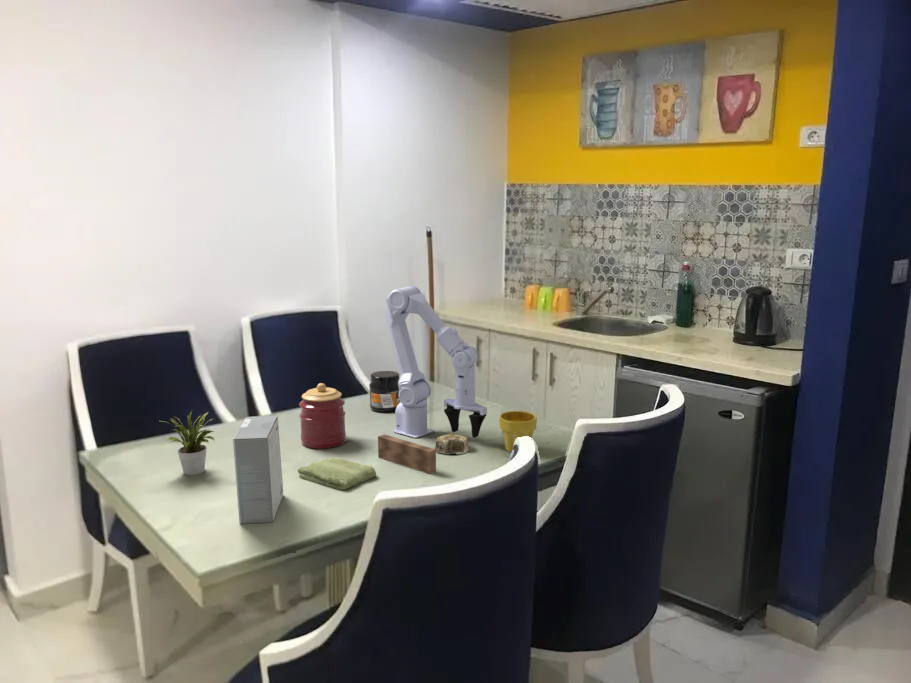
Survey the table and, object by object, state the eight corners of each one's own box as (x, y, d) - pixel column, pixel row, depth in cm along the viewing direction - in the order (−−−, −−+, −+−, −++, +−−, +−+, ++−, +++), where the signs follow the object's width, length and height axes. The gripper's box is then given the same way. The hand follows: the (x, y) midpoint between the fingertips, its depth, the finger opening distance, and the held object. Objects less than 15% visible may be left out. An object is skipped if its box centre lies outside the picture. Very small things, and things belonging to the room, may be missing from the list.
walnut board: (378, 457, 201) (377, 436, 200) (384, 454, 202) (384, 434, 201) (429, 474, 189) (429, 451, 187) (436, 471, 190) (435, 449, 189)
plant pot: (534, 456, 201) (534, 422, 199) (496, 454, 203) (497, 420, 201) (537, 444, 211) (538, 411, 209) (502, 442, 213) (502, 409, 211)
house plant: (163, 487, 181) (157, 424, 177) (157, 469, 193) (151, 409, 190) (222, 477, 187) (218, 415, 184) (213, 459, 199) (209, 402, 196)
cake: (429, 448, 210) (428, 430, 209) (461, 444, 213) (461, 426, 213) (441, 457, 200) (441, 438, 200) (475, 453, 204) (474, 434, 204)
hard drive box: (251, 495, 176) (246, 416, 172) (283, 494, 176) (279, 415, 172) (238, 524, 160) (232, 437, 156) (273, 523, 161) (268, 436, 157)
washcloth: (331, 463, 198) (331, 451, 197) (379, 477, 187) (379, 466, 187) (293, 478, 188) (293, 466, 187) (342, 494, 177) (341, 482, 177)
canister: (315, 453, 204) (313, 391, 201) (292, 441, 214) (289, 382, 210) (354, 442, 213) (353, 383, 209) (331, 431, 222) (328, 375, 219)
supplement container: (388, 415, 239) (387, 379, 236) (363, 410, 244) (362, 375, 242) (407, 407, 247) (407, 372, 245) (383, 402, 253) (382, 368, 251)
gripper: (437, 387, 212) (437, 432, 215) (476, 396, 203) (476, 442, 206) (452, 382, 218) (452, 426, 220) (491, 391, 209) (491, 436, 211)
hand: (465, 434), depth 214 cm, fingers open, 7 cm apart
